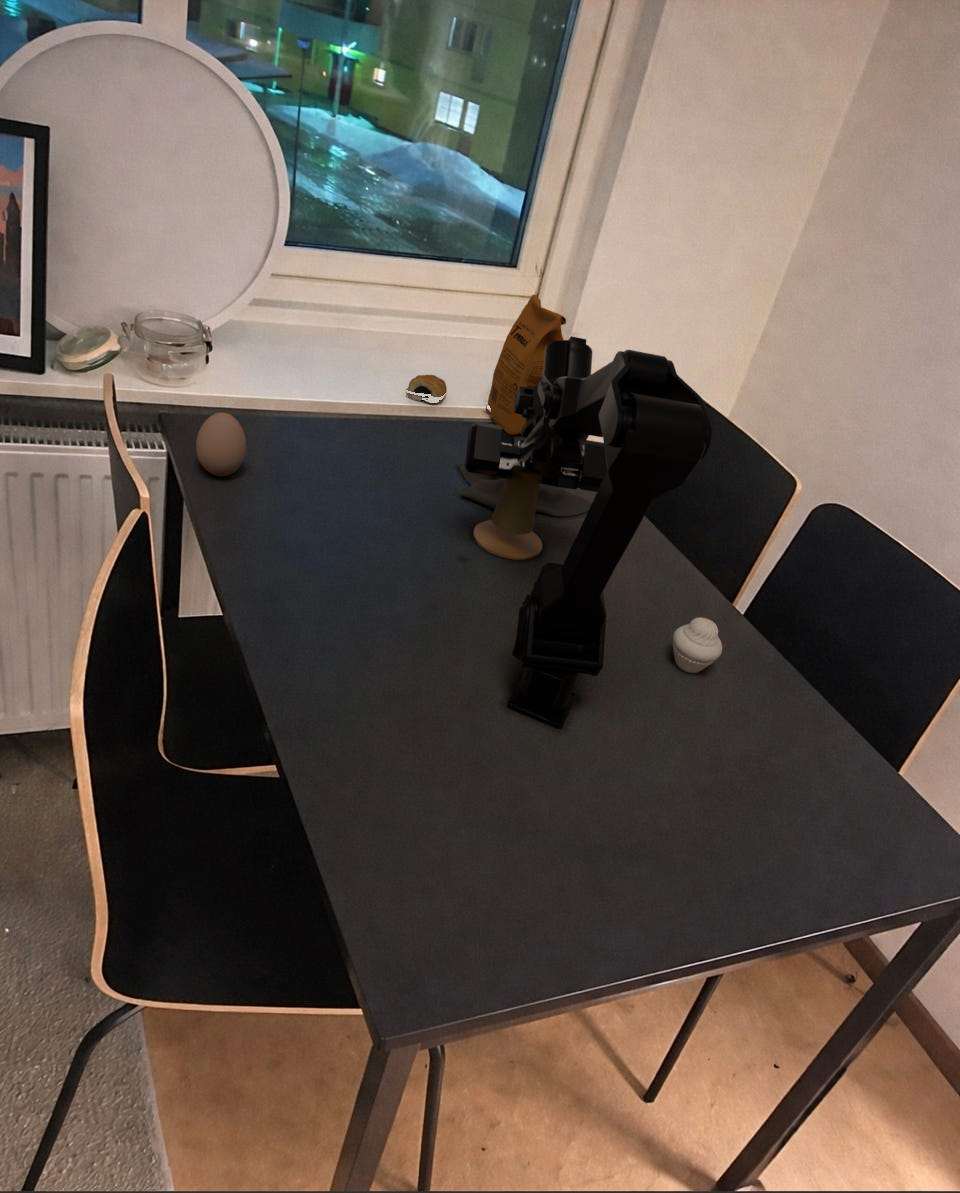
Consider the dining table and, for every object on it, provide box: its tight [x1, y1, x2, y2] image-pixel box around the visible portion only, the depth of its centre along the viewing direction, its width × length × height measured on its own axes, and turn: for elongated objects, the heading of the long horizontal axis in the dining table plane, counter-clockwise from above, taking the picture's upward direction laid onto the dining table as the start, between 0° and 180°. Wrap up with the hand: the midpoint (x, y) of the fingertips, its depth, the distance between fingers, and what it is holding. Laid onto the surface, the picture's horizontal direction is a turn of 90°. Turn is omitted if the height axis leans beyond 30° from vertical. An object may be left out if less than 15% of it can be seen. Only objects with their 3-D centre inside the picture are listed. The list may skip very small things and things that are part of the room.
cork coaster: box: [472, 519, 543, 561], centre depth 129 cm, size 10×10×1 cm
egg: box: [195, 412, 247, 477], centre depth 124 cm, size 7×7×9 cm
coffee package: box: [485, 294, 567, 436], centre depth 159 cm, size 10×12×22 cm
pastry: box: [405, 374, 448, 404], centre depth 166 cm, size 9×7×4 cm
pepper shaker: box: [491, 458, 543, 535], centre depth 124 cm, size 6×6×11 cm
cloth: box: [459, 464, 592, 518], centre depth 141 cm, size 22×19×6 cm
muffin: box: [672, 616, 723, 674], centre depth 111 cm, size 6×6×7 cm
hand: (522, 477), depth 125 cm, fingers closed on pepper shaker, 5 cm apart
